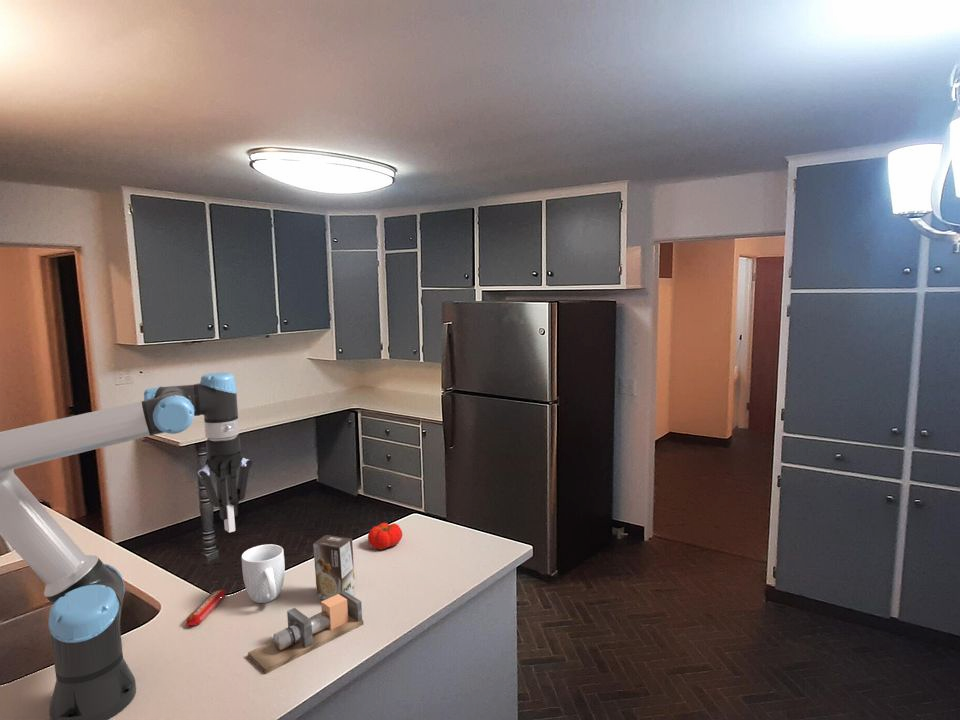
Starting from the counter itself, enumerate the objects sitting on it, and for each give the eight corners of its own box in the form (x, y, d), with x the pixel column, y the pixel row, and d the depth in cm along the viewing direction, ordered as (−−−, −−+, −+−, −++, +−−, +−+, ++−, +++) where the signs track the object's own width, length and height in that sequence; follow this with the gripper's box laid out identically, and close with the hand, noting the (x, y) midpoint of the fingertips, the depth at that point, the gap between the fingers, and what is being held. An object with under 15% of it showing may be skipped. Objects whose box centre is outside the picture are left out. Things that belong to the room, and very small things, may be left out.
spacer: (330, 630, 146) (329, 607, 145) (322, 623, 148) (321, 601, 148) (348, 621, 149) (347, 599, 148) (339, 615, 152) (338, 593, 151)
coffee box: (356, 592, 165) (353, 538, 163) (343, 604, 159) (340, 548, 157) (329, 587, 168) (326, 533, 166) (315, 598, 163) (312, 543, 161)
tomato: (363, 547, 194) (362, 528, 193) (386, 535, 203) (385, 517, 202) (384, 555, 188) (384, 535, 187) (407, 542, 197) (407, 523, 196)
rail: (266, 673, 131) (263, 643, 130) (248, 656, 137) (246, 627, 136) (363, 624, 150) (362, 597, 149) (343, 611, 156) (342, 585, 155)
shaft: (281, 654, 136) (280, 637, 136) (273, 646, 139) (272, 630, 139) (331, 629, 146) (330, 614, 145) (322, 623, 148) (321, 608, 148)
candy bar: (215, 596, 165) (214, 586, 165) (227, 597, 165) (227, 586, 165) (183, 629, 149) (182, 618, 149) (197, 630, 149) (196, 619, 149)
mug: (295, 605, 159) (292, 560, 157) (252, 619, 153) (249, 571, 151) (280, 583, 171) (277, 540, 170) (240, 594, 165) (237, 550, 164)
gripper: (200, 445, 135) (209, 543, 138) (255, 434, 144) (262, 526, 147) (188, 439, 140) (196, 534, 143) (242, 429, 149) (249, 518, 152)
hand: (230, 530), depth 145 cm, fingers closed
